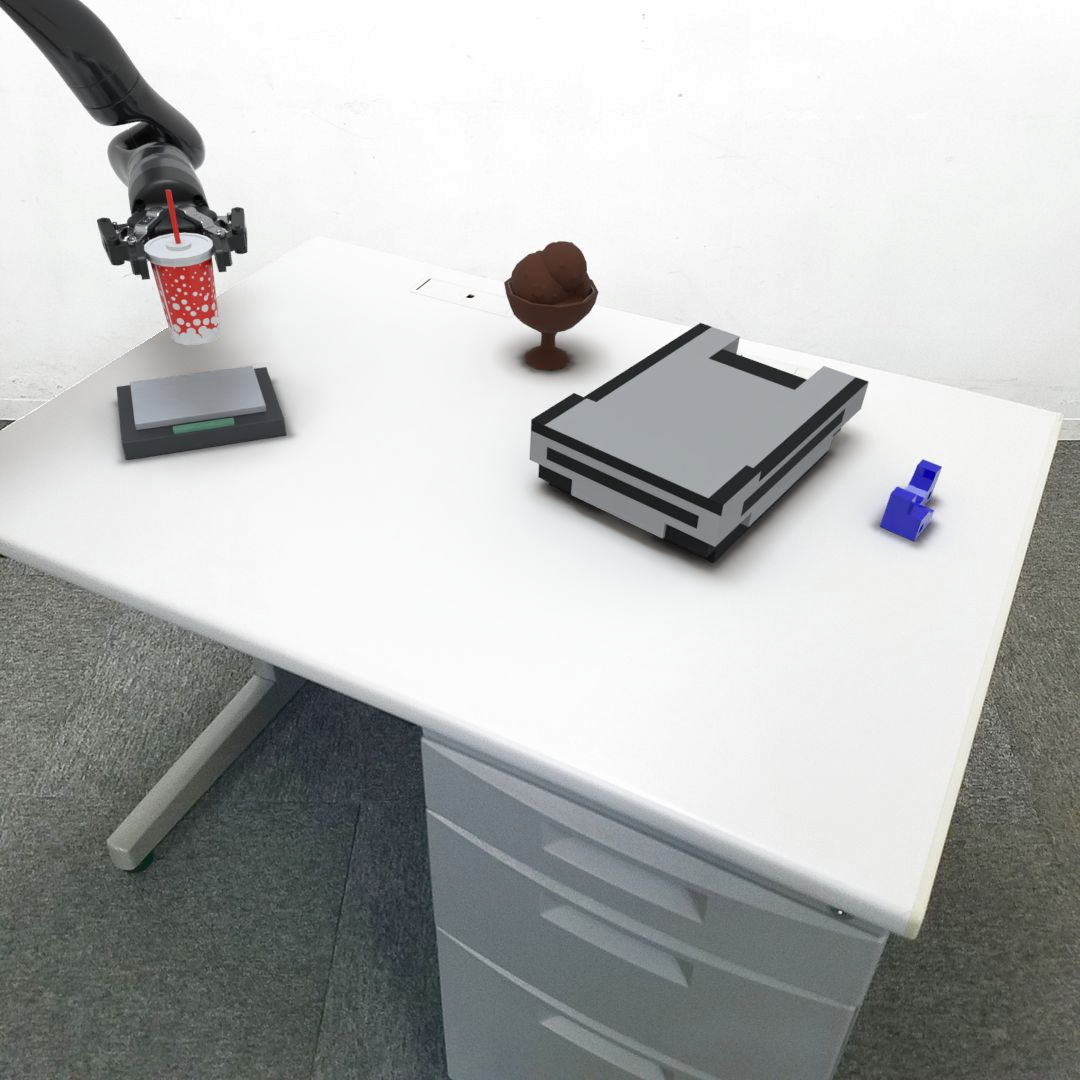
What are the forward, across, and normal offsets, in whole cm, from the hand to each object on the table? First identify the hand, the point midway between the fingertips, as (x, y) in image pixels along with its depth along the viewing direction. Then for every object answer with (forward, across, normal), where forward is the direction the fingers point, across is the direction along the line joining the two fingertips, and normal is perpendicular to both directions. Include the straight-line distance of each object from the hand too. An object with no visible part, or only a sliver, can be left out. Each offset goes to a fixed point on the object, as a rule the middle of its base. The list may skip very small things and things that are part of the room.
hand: (183, 265), depth 87 cm
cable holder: (+32, +63, +20) cm, 74 cm away
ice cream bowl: (-8, +40, +20) cm, 46 cm away
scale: (-6, -1, +20) cm, 21 cm away
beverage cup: (-2, 0, +8) cm, 9 cm away
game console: (+18, +47, +20) cm, 54 cm away
